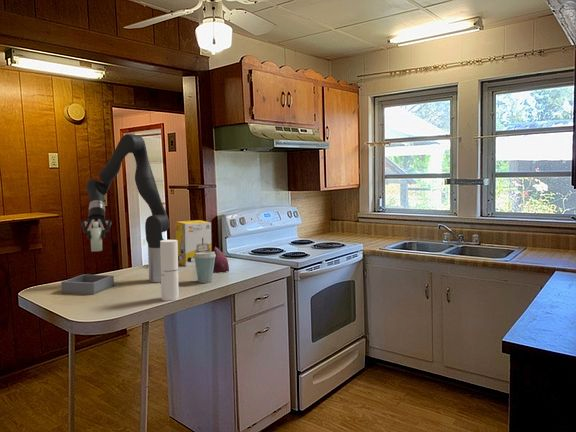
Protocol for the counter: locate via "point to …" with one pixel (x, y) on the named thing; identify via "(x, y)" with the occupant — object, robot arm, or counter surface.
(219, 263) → the vegetable
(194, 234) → the packaging box
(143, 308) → the counter surface
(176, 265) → the cylindrical container
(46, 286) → the counter surface
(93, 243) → the cruet
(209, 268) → the disposable coffee cup
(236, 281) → the counter surface
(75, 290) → the bin
